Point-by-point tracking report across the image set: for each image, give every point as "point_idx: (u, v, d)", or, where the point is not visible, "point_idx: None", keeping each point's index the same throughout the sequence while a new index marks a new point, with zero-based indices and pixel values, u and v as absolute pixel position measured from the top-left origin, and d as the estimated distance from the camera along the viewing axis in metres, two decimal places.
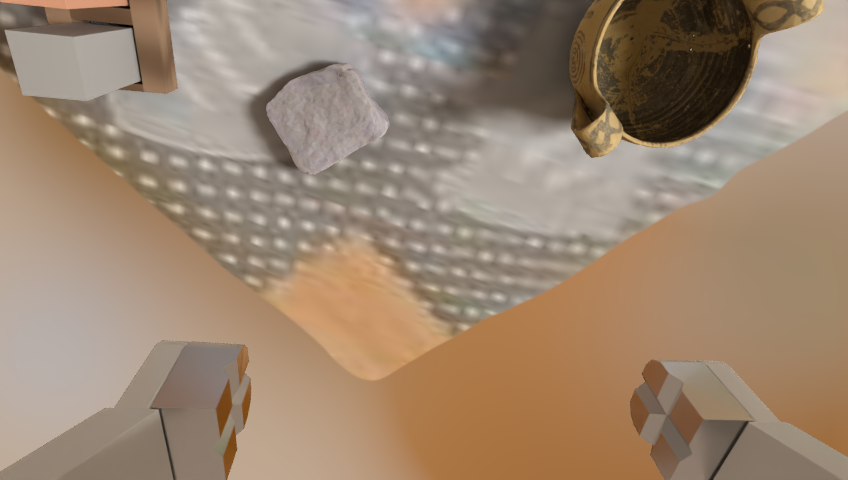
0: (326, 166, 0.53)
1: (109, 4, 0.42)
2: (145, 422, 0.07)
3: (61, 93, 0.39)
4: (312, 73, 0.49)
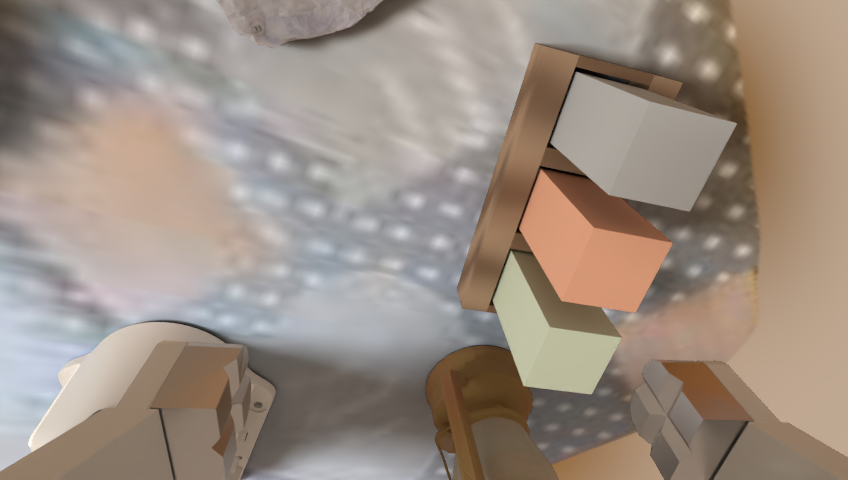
0: None
1: (554, 187, 0.32)
2: (145, 422, 0.07)
3: (680, 118, 0.23)
4: (307, 36, 0.30)
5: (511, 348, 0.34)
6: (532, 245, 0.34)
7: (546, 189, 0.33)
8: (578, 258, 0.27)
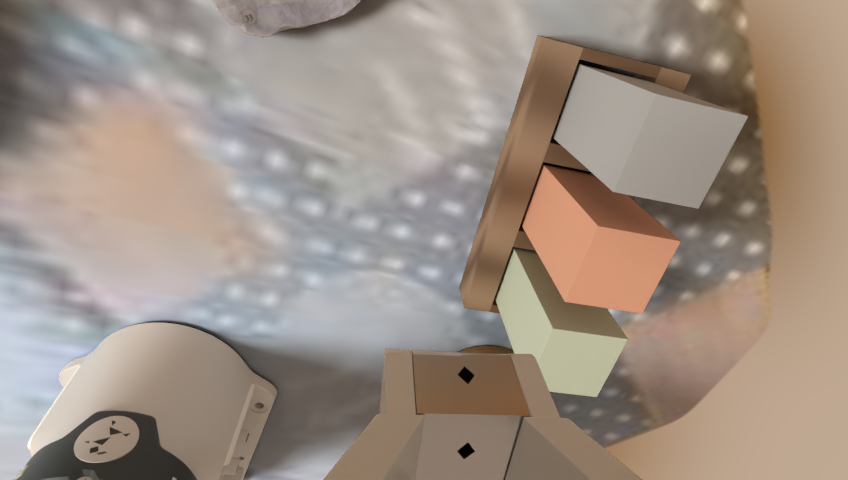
0: None
1: (558, 184, 0.31)
2: (417, 427, 0.07)
3: (688, 111, 0.22)
4: (300, 25, 0.29)
5: (514, 349, 0.33)
6: (535, 244, 0.33)
7: (549, 186, 0.32)
8: (582, 258, 0.26)
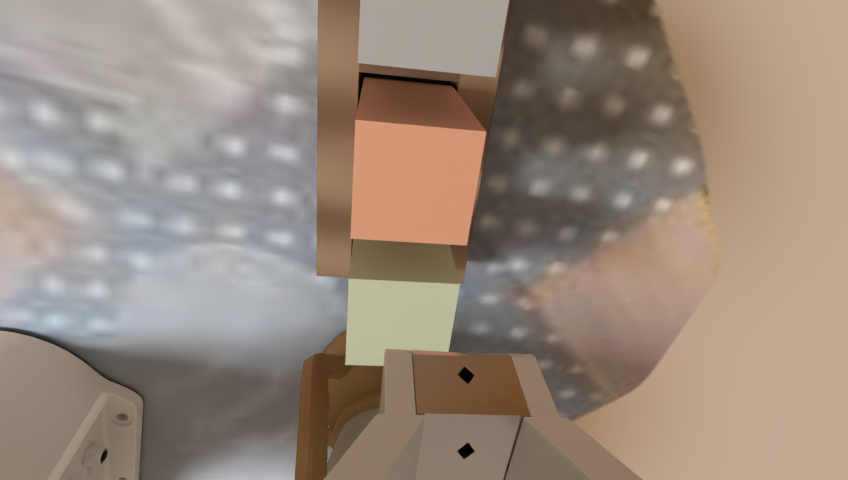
0: None
1: None
2: (417, 427, 0.07)
3: None
4: None
5: None
6: None
7: None
8: (353, 172, 0.18)
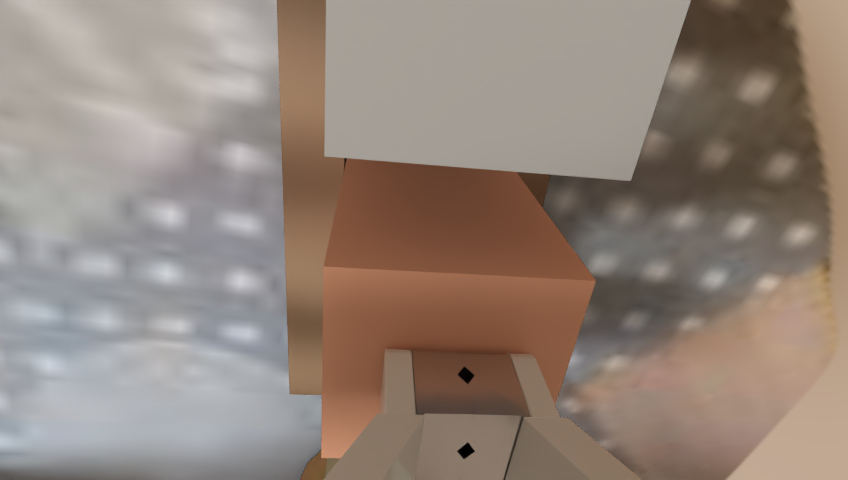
0: None
1: None
2: (417, 427, 0.07)
3: None
4: None
5: None
6: None
7: None
8: (323, 353, 0.09)
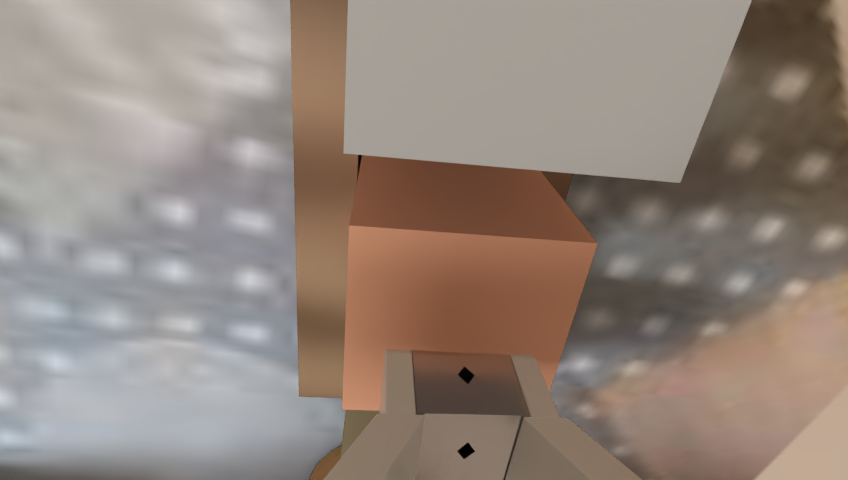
0: None
1: None
2: (417, 427, 0.07)
3: None
4: None
5: None
6: None
7: None
8: (346, 308, 0.10)
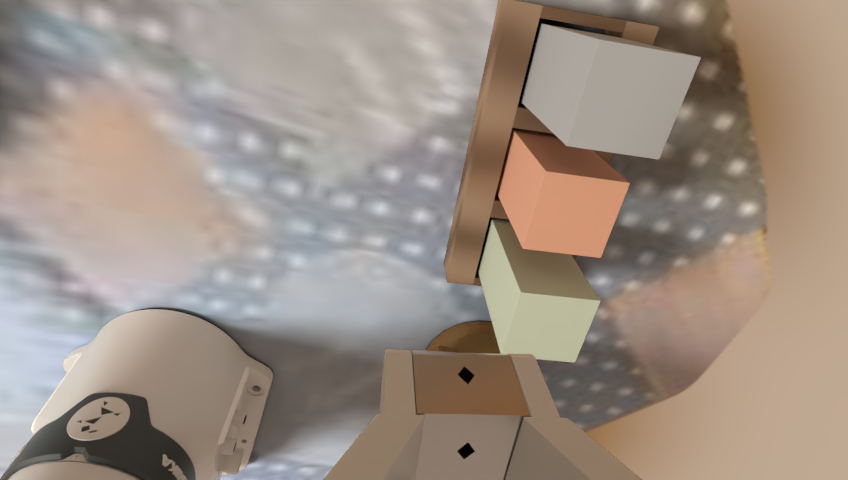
0: None
1: (518, 140, 0.32)
2: (417, 427, 0.07)
3: (635, 56, 0.22)
4: None
5: (492, 319, 0.33)
6: (503, 200, 0.34)
7: (512, 143, 0.33)
8: (535, 204, 0.27)
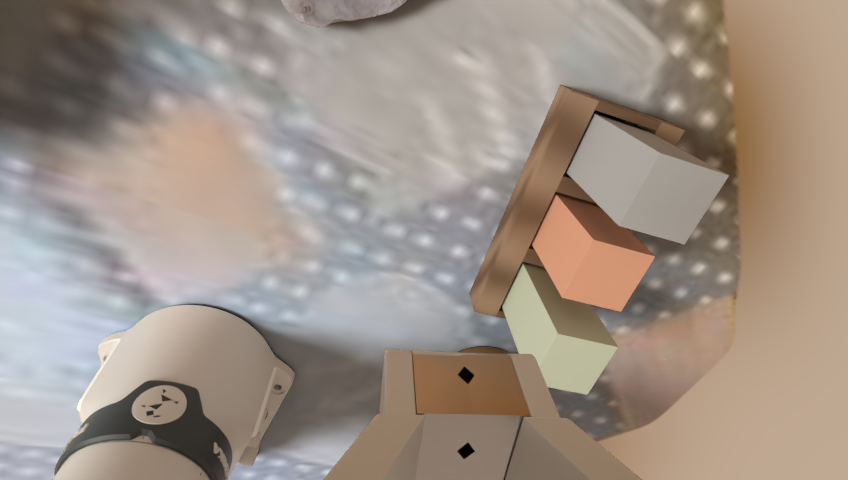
0: None
1: (561, 204, 0.38)
2: (417, 427, 0.07)
3: (683, 168, 0.28)
4: (352, 19, 0.32)
5: (519, 350, 0.39)
6: (538, 250, 0.40)
7: (553, 204, 0.39)
8: (579, 263, 0.33)
